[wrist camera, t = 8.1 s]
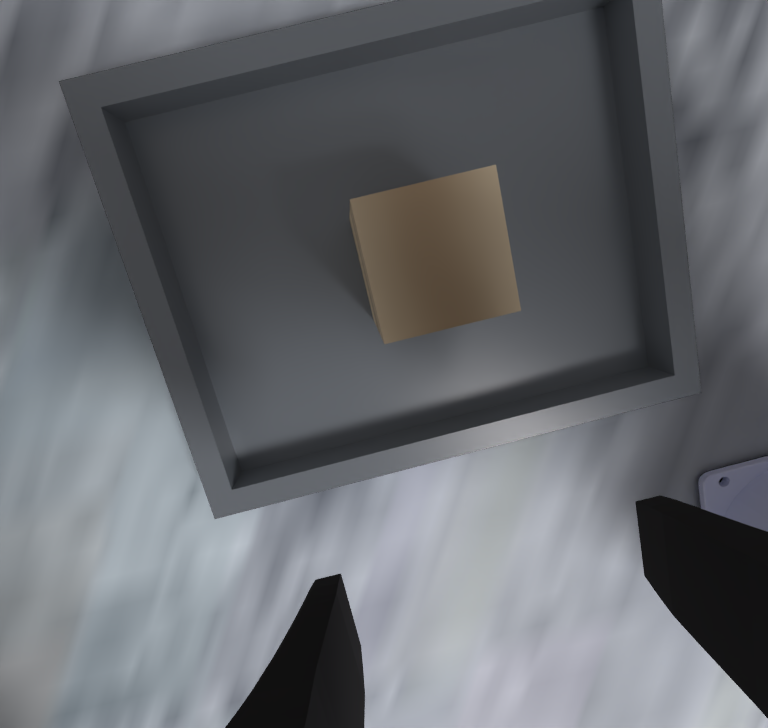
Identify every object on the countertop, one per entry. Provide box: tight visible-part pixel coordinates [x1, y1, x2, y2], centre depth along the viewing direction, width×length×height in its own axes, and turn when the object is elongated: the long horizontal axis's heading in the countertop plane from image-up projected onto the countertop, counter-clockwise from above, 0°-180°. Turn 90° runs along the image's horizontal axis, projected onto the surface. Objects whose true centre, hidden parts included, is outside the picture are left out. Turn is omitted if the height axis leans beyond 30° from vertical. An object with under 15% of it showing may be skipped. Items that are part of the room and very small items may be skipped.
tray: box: [59, 0, 701, 519], centre depth 19 cm, size 20×16×2 cm
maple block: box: [349, 165, 521, 344], centre depth 16 cm, size 4×4×6 cm
